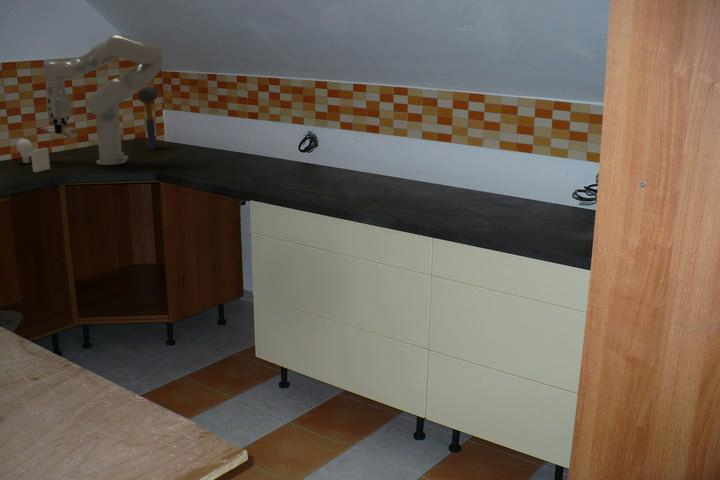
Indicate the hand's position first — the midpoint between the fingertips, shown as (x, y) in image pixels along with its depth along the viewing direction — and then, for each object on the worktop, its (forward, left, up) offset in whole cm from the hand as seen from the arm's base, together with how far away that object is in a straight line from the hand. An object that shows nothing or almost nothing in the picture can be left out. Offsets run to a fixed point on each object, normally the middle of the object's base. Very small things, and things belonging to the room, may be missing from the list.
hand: (61, 132), depth 358 cm
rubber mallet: (-14, -43, -14) cm, 47 cm away
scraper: (+1, 0, 0) cm, 1 cm away
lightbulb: (+14, +8, -14) cm, 21 cm away
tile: (-4, +17, -13) cm, 22 cm away
